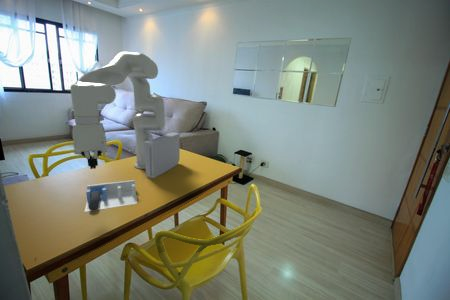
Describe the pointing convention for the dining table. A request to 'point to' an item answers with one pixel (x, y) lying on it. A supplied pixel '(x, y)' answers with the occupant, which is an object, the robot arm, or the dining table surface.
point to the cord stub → (94, 200)
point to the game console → (162, 154)
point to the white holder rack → (113, 194)
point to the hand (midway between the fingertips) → (93, 167)
